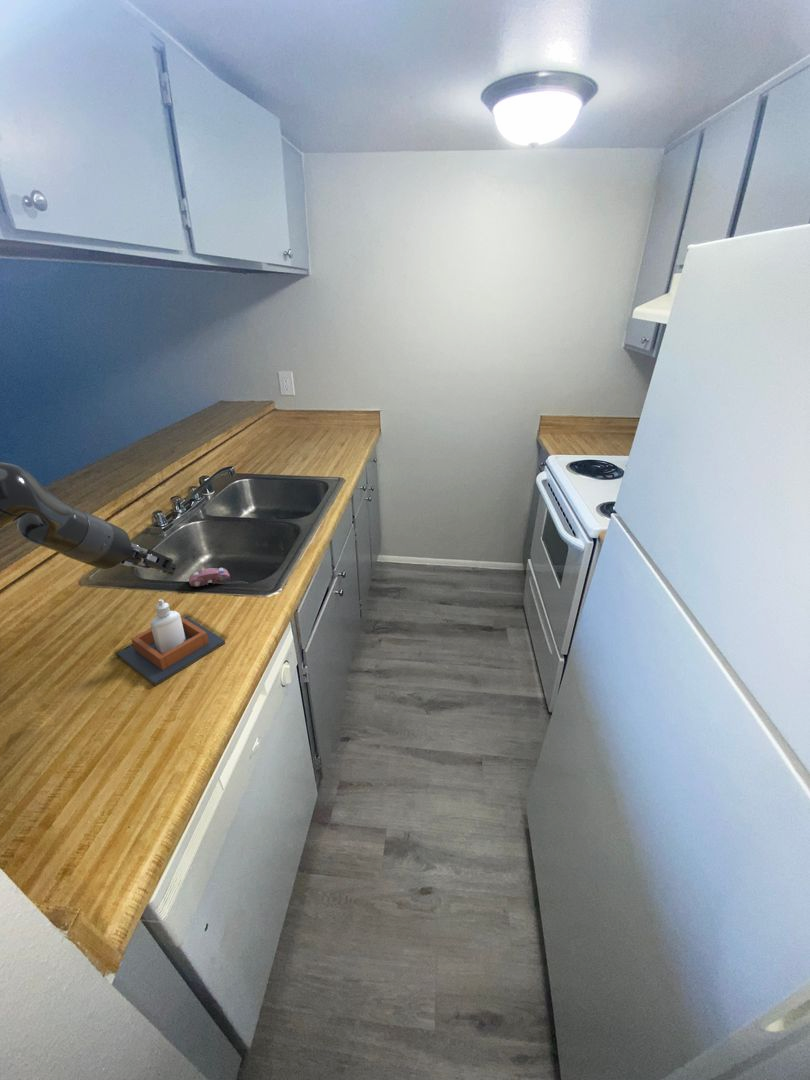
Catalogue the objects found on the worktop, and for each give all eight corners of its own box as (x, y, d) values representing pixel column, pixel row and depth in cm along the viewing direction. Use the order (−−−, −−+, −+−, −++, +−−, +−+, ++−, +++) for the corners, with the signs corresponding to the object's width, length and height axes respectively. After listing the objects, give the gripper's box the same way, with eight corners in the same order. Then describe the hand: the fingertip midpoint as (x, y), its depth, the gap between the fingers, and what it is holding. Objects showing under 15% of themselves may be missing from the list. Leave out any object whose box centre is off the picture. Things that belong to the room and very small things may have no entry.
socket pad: (155, 686, 91) (151, 670, 89) (117, 656, 98) (112, 641, 96) (225, 643, 103) (222, 628, 101) (187, 619, 110) (184, 605, 108)
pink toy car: (191, 596, 121) (187, 581, 116) (189, 581, 123) (185, 566, 118) (231, 588, 125) (230, 574, 119) (229, 574, 127) (227, 559, 122)
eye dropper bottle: (186, 650, 99) (175, 603, 94) (156, 656, 97) (144, 608, 92) (186, 637, 103) (176, 591, 97) (157, 643, 101) (145, 596, 95)
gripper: (136, 525, 76) (193, 554, 91) (64, 512, 79) (130, 542, 94) (118, 569, 74) (179, 591, 89) (45, 554, 77) (116, 578, 92)
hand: (154, 566), depth 92 cm, fingers open, 8 cm apart
